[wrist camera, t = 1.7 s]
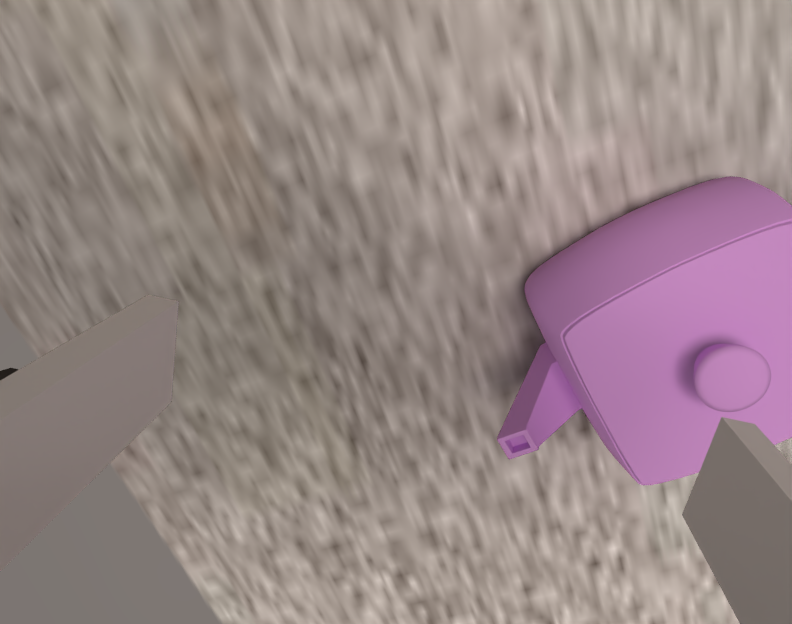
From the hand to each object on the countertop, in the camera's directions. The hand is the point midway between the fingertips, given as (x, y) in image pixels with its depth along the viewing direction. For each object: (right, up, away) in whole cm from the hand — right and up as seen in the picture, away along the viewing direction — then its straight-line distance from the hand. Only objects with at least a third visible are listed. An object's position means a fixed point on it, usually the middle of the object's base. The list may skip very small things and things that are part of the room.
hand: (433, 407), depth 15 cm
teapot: (+12, +3, +18) cm, 22 cm away
